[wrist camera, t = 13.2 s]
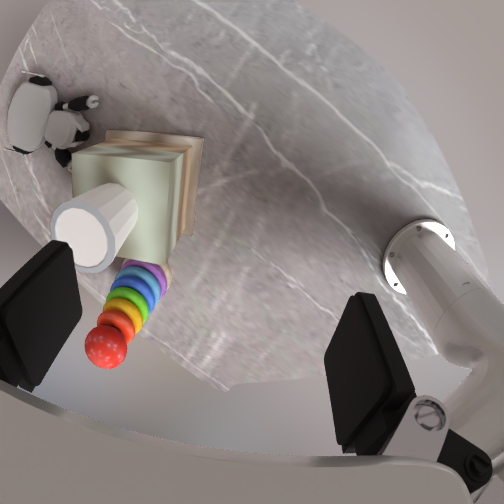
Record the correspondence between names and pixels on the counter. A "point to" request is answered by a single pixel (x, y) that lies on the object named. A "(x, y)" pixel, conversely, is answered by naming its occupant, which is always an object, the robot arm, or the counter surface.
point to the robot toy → (46, 120)
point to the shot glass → (95, 225)
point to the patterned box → (146, 185)
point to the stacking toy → (126, 310)
